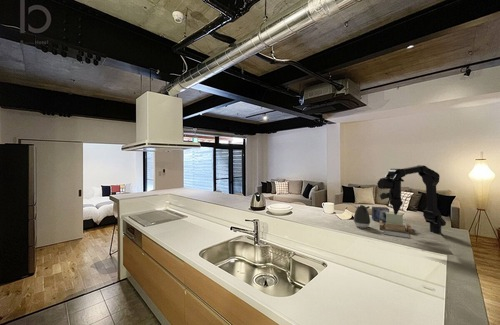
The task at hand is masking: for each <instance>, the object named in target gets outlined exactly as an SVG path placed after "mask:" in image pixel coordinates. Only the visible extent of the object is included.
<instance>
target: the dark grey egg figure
mask: <svg viewBox="0 0 500 325" xmlns="http://www.w3.org/2000/svg"><path fill="white" fill-rule="evenodd" d="M368 209H370V206H365V205H363V204H359V205H358V206H357V207H356V210H355V211H354V215H353V216H354V217H353V222H354V224H355V226H357V227H358V228H361V229H367V228H368V227H369V226H370V224H371V217H370V213H369V211H368Z"/></svg>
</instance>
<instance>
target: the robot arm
mask: <svg viewBox="0 0 500 325" xmlns="http://www.w3.org/2000/svg"><path fill="white" fill-rule="evenodd" d="M412 174H418V176H420V177H421V179H422V182H423V183H424V185H425V193H426V195H425V196H426V208H425V209H423V210H422V212H423V214H422V217H424V220H425V223H427V224H429V232H430V233H433V234H435V235H436V234H438V235H440V236H444V234H443V232H442V227H444V226H446V225H447V222H446V221H445V219H444V218H443V217H442V213H441V211H440V210H439V208H438V197H437V196H438V195H437V186H438V185H439V183H440V178H441V177H440V176H441V175H440V173H438V172H437V171H435V170H433V169H432V168H429V167H428V166H426V165H421V164H420V165H419V164H418V165H415V166H410V167H403V168H389V169H388V172H387V173H386V175H385V176H384V177H380V178H379V179H378V181H377V183H376V185H377V187H378V189H380V190H388V191H387V192H382V193H379V197H380V200H385V199H386V200H387V199H388V200H389V204H390V205H391V206H392V209H393V213H394V214H395V215H397V213H398V214H399V211H400V209H401V207H402V206H403V205H404V204H403V202H404V201H403V200H402V183H403V182H405V180H404V179H403V178H405V177H406V175H412Z"/></svg>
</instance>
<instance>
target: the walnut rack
mask: <svg viewBox="0 0 500 325" xmlns="http://www.w3.org/2000/svg"><path fill="white" fill-rule="evenodd" d="M378 222H379V230H381V231H383V232H384V231H390V232H397V233H405V234H409V235H413V228H412V227H411V224H410V223H407V222H406V223H405V224H406V225H405V232H404V231H397V230H389V229H385V223H383V222H382V220H379V221H378Z"/></svg>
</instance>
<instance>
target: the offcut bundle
mask: <svg viewBox="0 0 500 325" xmlns="http://www.w3.org/2000/svg"><path fill="white" fill-rule="evenodd" d="M384 224H385V228H384V229H389V230H397V231H404V232H406V231H405V228H406V225H404V224H403V225H397V224H389V223H386V222H384Z"/></svg>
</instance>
